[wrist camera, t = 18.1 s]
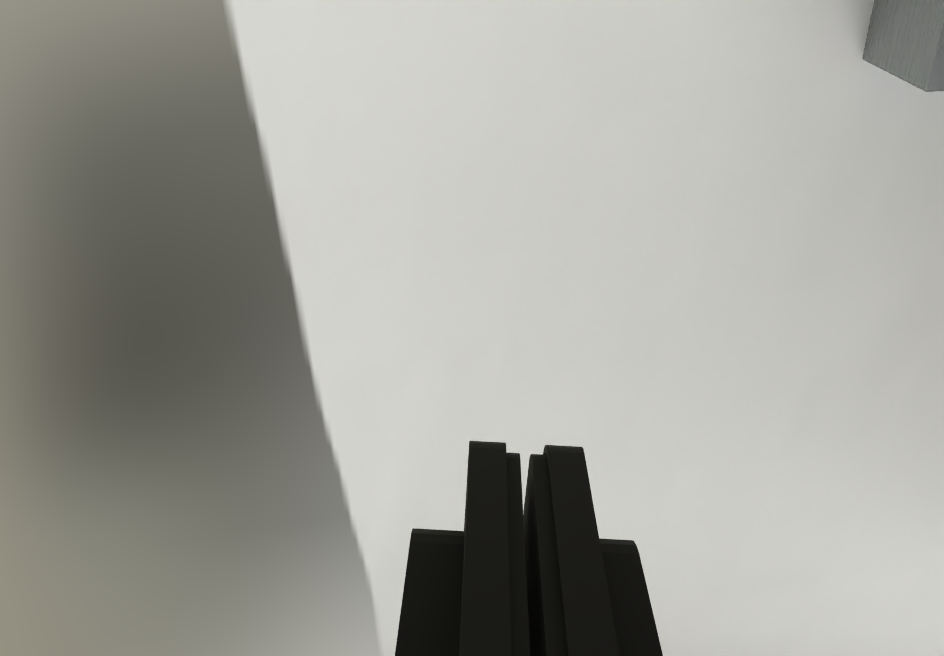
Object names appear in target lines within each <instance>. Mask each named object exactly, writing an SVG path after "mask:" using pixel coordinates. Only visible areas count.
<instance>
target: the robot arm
mask: <svg viewBox="0 0 944 656" xmlns="http://www.w3.org/2000/svg"><path fill="white" fill-rule="evenodd" d="M395 656H663V655H662V650H661V646H660V642H659V637H658V633H657V629H656V624H655V620H654V616H653V612H652V607H651V603H650V599H649V594H648V590H647V586H646V582H645V577H644V573H643V569H642V564H641V560H640V556H639V552H638V549H637V546H636V544H635V542H634V541H632V540H614V539H599V536H598V530H597V524H596V518H595V513H594V507H593V501H592V495H591V489H590V484H589V478H588V472H587V466H586V461H585V455H584V450H583V448H582V447H572V446H554V445H545V448H544V452H543V455H538V454H531V455H530V460H529V469H528V478H527V487H526V496H525V505H524V514H523V504H522V485H521V466H520V454H519V453H506V443H499V442H481V441H470V442H469V457H468V474H467V491H466V508H465V524H464V531H448V530H430V529H412V533H411V540H410V547H409V554H408V562H407V569H406V577H405V585H404V592H403V600H402V607H401V615H400V622H399V630H398V637H397V645H396V652H395Z"/></svg>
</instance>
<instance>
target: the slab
mask: <svg viewBox="0 0 944 656" xmlns="http://www.w3.org/2000/svg"><path fill="white" fill-rule="evenodd" d="M863 60H865V61H867V62H869V63H871V64H873V65H875V66H877V67H879V68H881V69H883V70H885V71H887V72H889V73H890V74H892V75H894V76H896V77H898V78H900V79H902V80H904V81H906V82H908V83H910V84H912V85H914V86H916V87H918V88H920V89H922V90H924V91H926V92H931V91H944V0H875V1H874V6H873V11H872V15H871V20H870V25H869V30H868V35H867V40H866V44H865V49H864V54H863Z"/></svg>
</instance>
